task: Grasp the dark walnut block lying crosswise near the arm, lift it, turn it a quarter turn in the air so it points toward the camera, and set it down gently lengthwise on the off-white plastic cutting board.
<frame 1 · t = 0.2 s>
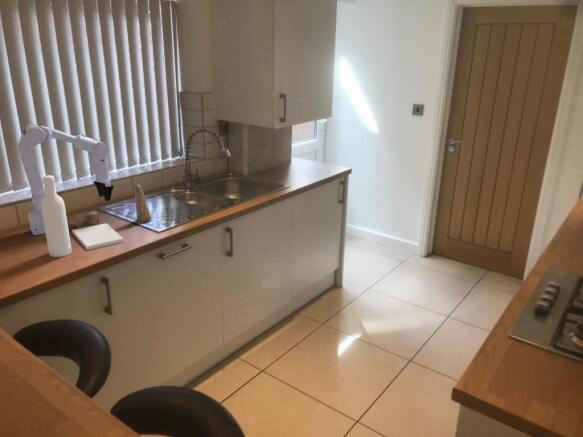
hand: (105, 198, 211), 10 cm above the worktop, tool pointing down, fingers open, 7 cm apart
bottle: (60, 253, 179), on the worktop
cutting board: (97, 237, 194), on the worktop
tan tapered horn: (144, 221, 213), on the worktop
walnut block: (87, 224, 207), on the worktop
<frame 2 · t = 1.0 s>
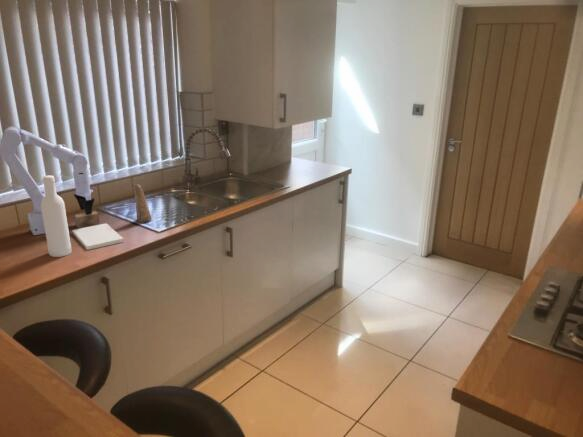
hand: (86, 211, 205), 6 cm above the worktop, tool pointing down, fingers open, 7 cm apart
nothing on the worktop moved.
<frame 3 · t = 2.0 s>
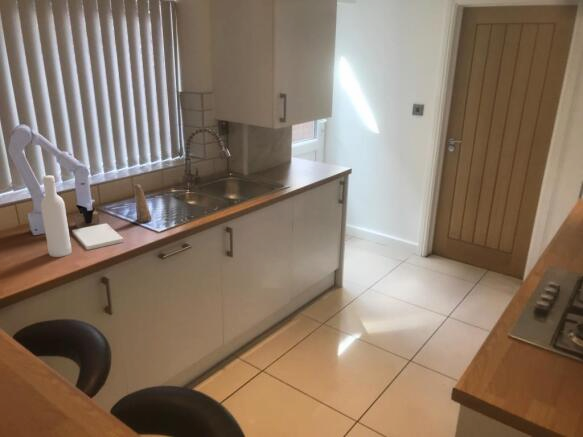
hand: (87, 221, 207), 1 cm above the worktop, tool pointing down, fingers closed on walnut block, 4 cm apart
walnut block: (87, 224, 207), on the worktop, touching gripper
everything else where it was.
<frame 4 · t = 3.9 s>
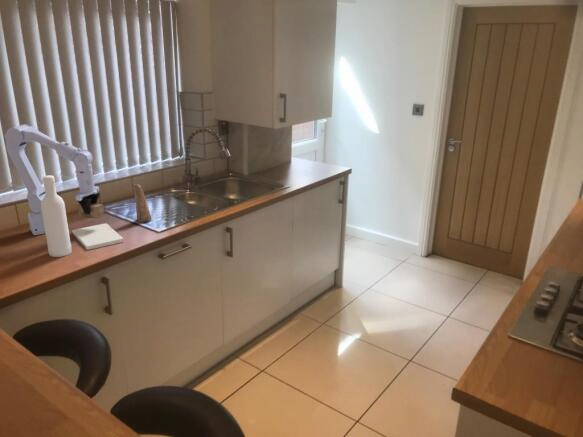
hand: (90, 212, 197), 8 cm above the worktop, tool pointing down, fingers closed on walnut block, 4 cm apart
walnut block: (91, 216, 198), point 7 cm above the worktop, touching gripper
everything else where it was.
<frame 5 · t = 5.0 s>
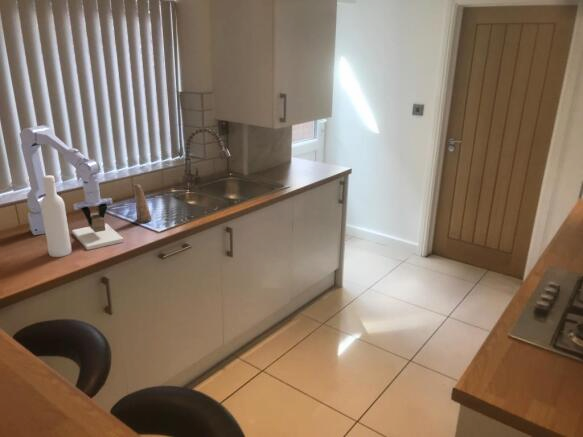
hand: (95, 223, 191), 6 cm above the worktop, tool pointing down, fingers closed on walnut block, 4 cm apart
walnut block: (96, 227, 192), point 4 cm above the worktop, touching gripper
everything else where it was.
when the fingers open (4 cm above the worktop, at t = 5.9 s): walnut block stays where it is, resting on cutting board.
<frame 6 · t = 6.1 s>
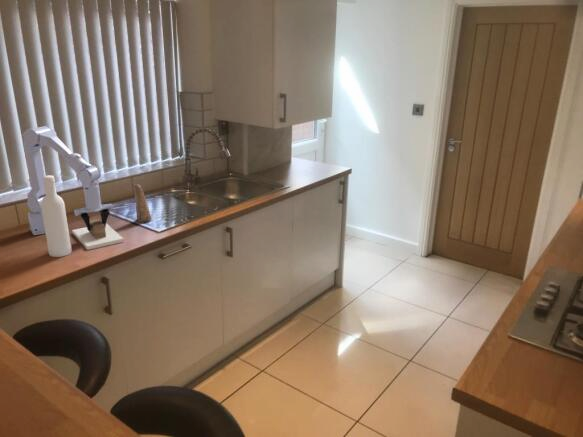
hand: (96, 228, 192), 4 cm above the worktop, tool pointing down, fingers open, 5 cm apart
walnut block: (97, 234, 193), point 1 cm above the worktop, touching cutting board
everything else where it was.
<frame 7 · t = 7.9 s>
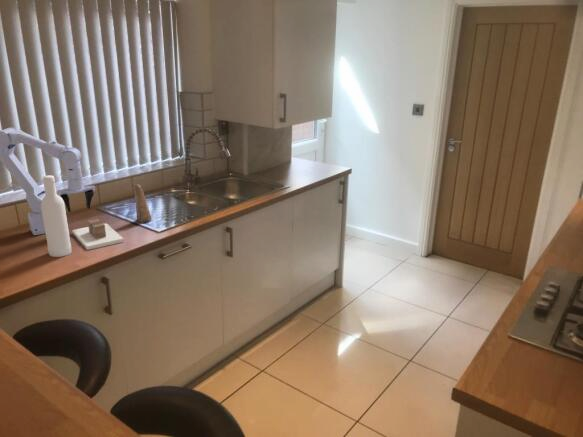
hand: (78, 209, 197), 9 cm above the worktop, tool pointing down, fingers open, 7 cm apart
nothing on the worktop moved.
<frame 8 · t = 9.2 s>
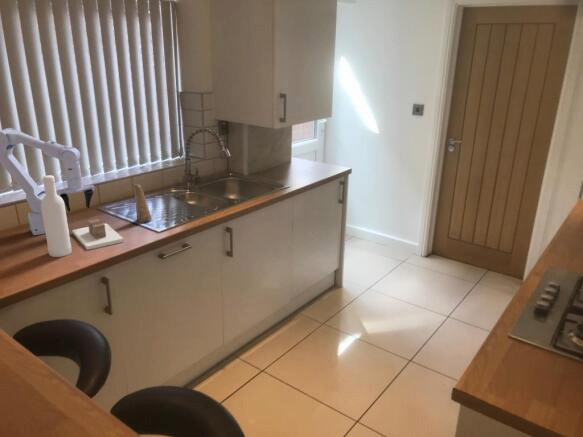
hand: (78, 209, 198), 9 cm above the worktop, tool pointing down, fingers open, 7 cm apart
nothing on the worktop moved.
at the end: walnut block inside the target area (0.4 cm from its centre), point 1.5 cm above the worktop; walnut block tilted 0°; the gripper is holding nothing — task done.
